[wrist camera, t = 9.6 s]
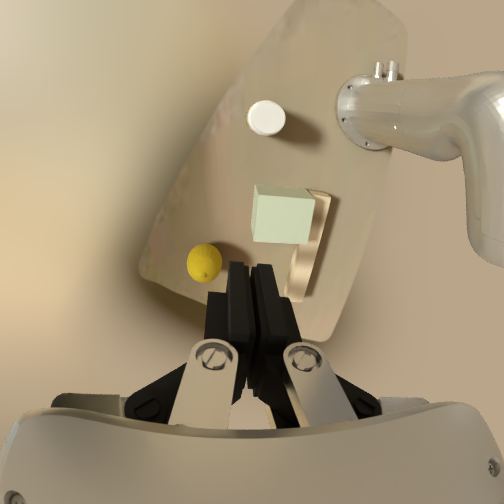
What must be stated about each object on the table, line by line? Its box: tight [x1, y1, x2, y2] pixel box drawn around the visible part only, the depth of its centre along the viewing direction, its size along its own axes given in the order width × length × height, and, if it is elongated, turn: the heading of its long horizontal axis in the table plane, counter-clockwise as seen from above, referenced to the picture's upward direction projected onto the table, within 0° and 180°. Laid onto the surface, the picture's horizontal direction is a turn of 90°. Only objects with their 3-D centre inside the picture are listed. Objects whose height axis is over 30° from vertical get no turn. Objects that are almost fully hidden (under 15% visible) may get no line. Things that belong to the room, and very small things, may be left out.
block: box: [251, 184, 315, 244], centre depth 41 cm, size 7×8×6 cm
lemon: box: [187, 243, 222, 283], centre depth 43 cm, size 6×6×8 cm
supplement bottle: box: [246, 100, 286, 136], centre depth 33 cm, size 5×5×8 cm
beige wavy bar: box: [284, 189, 331, 302], centre depth 46 cm, size 20×3×3 cm, turn 172°
